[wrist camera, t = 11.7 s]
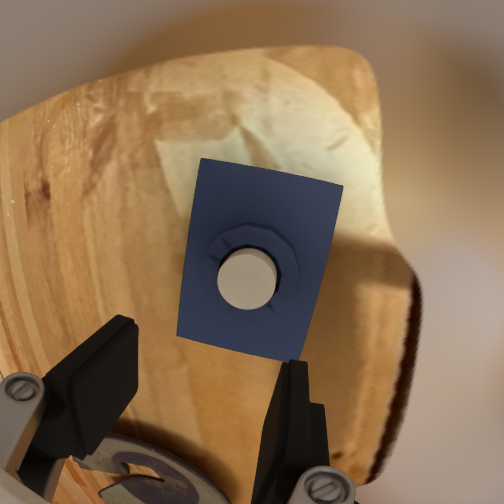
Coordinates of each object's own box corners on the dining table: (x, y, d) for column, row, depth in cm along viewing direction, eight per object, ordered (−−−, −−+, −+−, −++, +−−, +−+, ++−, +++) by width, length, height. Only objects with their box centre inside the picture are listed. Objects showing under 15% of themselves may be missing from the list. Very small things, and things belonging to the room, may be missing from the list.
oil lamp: (123, 499, 37) (107, 529, 29) (46, 363, 30) (9, 394, 23) (249, 520, 34) (242, 558, 26) (212, 381, 27) (190, 437, 20)
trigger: (227, 242, 20) (222, 248, 19) (281, 254, 20) (281, 261, 18) (219, 293, 21) (213, 302, 20) (270, 304, 21) (268, 315, 19)
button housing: (208, 159, 23) (192, 155, 19) (339, 185, 22) (348, 186, 18) (184, 324, 26) (168, 346, 22) (297, 350, 26) (297, 377, 22)
